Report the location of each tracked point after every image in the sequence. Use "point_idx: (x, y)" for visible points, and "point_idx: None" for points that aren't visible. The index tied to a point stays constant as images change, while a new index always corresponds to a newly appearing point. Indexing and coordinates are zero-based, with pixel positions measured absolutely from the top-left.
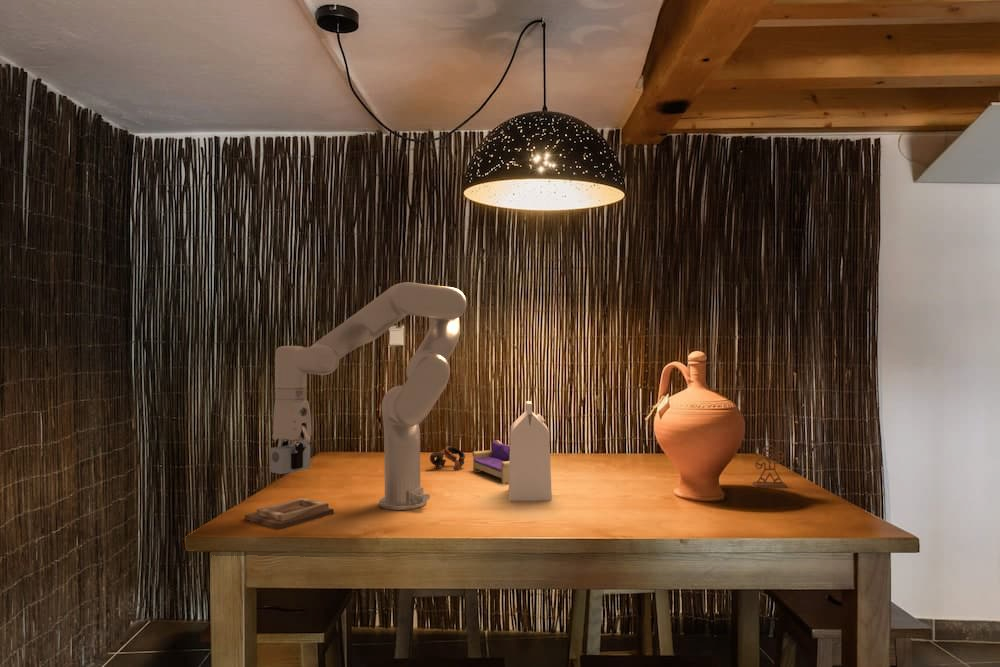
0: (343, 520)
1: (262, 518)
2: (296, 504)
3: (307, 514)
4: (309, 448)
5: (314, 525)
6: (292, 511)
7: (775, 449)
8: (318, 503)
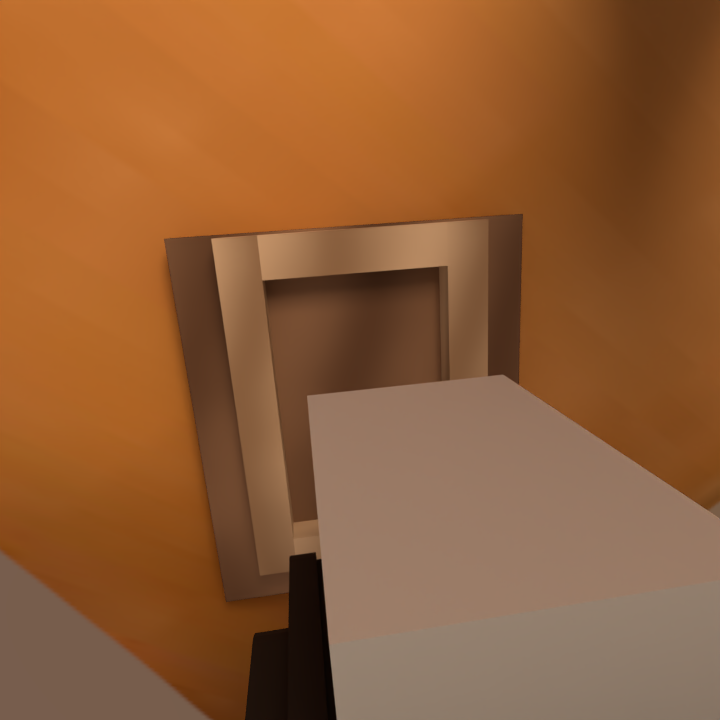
0: (646, 264)
1: None
2: (268, 321)
3: None
4: (701, 532)
5: (586, 412)
6: None
7: None
8: (434, 263)
